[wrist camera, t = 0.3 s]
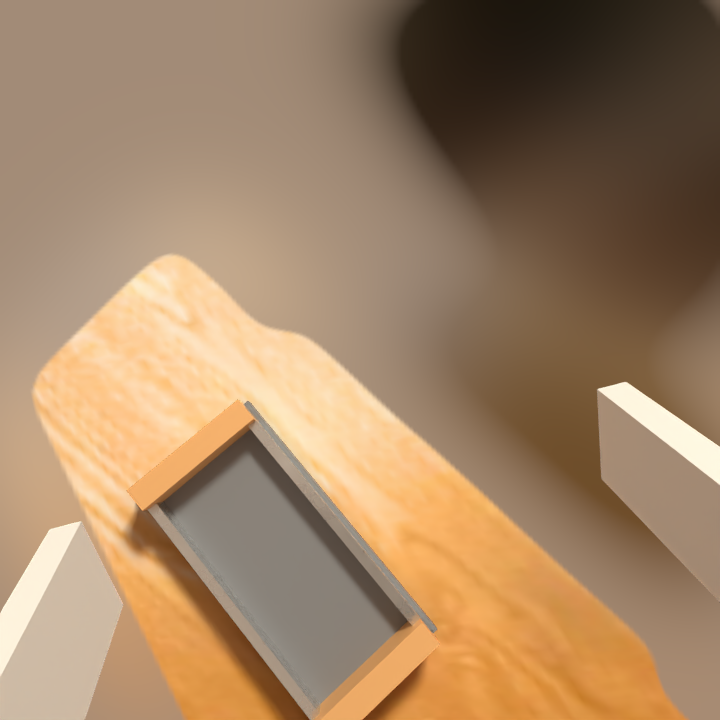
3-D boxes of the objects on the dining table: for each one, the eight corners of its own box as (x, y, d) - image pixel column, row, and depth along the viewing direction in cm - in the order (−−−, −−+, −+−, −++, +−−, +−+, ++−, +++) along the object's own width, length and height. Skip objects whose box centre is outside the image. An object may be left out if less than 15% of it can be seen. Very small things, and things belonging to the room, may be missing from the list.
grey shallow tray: (434, 625, 45) (443, 640, 41) (325, 729, 44) (324, 756, 40) (250, 402, 49) (241, 396, 44) (141, 491, 47) (122, 494, 43)
